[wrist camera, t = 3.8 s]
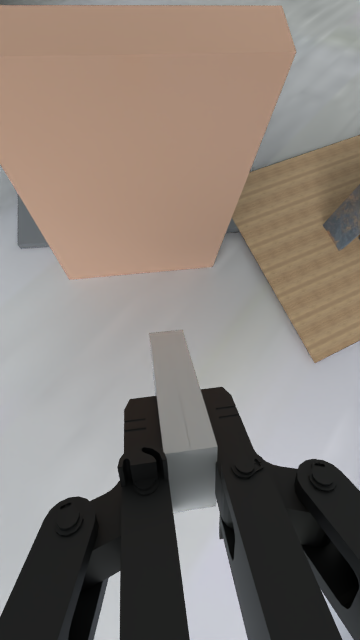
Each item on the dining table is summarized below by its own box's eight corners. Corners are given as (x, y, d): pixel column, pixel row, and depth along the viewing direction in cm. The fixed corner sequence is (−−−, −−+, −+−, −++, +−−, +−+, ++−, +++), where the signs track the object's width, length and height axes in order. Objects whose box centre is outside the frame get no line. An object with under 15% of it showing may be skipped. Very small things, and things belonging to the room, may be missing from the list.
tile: (69, 279, 25) (-64, 57, 10) (68, 251, 26) (-59, 0, 10) (212, 266, 26) (296, 52, 11) (207, 240, 27) (280, 1, 11)
